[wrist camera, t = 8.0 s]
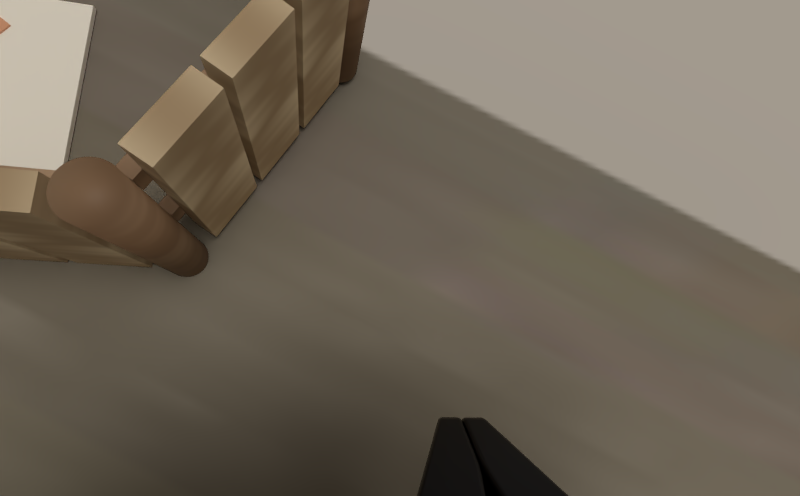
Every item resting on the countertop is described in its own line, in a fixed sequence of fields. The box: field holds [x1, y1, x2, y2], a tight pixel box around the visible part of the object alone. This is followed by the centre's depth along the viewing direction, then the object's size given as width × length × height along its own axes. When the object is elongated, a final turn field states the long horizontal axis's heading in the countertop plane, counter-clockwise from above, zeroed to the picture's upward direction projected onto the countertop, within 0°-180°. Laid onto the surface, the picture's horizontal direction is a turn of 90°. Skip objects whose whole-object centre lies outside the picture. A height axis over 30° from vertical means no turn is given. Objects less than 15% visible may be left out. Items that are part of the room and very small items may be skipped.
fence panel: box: [116, 0, 370, 237], centre depth 16 cm, size 11×2×8 cm, turn 147°
